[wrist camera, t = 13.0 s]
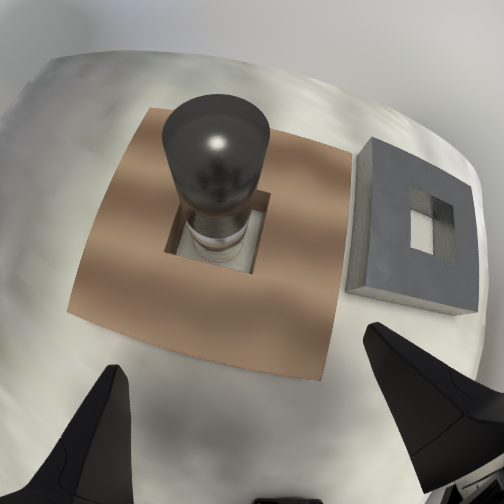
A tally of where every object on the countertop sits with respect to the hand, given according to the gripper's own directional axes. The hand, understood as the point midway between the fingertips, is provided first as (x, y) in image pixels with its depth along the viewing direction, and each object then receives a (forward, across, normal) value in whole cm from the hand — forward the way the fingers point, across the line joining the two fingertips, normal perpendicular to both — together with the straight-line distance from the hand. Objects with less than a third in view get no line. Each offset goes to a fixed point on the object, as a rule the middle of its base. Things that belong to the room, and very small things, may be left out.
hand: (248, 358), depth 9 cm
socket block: (+12, -19, +4) cm, 23 cm away
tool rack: (+14, 0, +3) cm, 14 cm away
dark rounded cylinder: (+14, 0, +3) cm, 14 cm away
